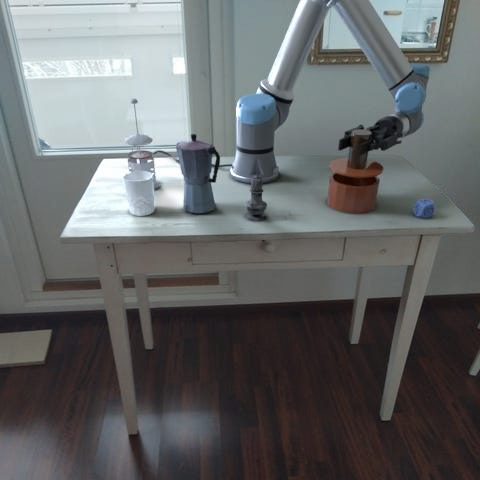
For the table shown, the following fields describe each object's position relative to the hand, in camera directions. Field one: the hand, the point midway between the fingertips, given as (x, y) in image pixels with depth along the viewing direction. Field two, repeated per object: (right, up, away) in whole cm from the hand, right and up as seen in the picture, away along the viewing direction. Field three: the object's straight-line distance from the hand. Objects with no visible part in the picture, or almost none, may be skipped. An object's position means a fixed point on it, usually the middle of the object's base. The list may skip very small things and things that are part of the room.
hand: (350, 147), depth 125 cm
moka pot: (-40, -14, +10) cm, 43 cm away
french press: (-59, -3, +24) cm, 64 cm away
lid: (+3, -3, +7) cm, 9 cm away
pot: (+3, -11, +13) cm, 18 cm away
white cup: (-56, -15, +8) cm, 58 cm away
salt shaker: (-24, -17, +6) cm, 30 cm away
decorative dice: (+22, -16, +7) cm, 28 cm away
